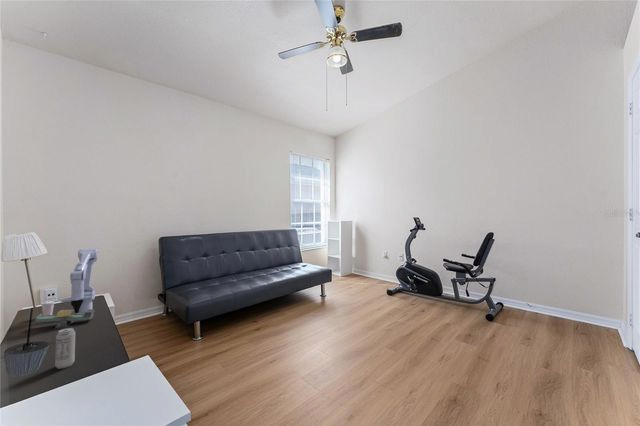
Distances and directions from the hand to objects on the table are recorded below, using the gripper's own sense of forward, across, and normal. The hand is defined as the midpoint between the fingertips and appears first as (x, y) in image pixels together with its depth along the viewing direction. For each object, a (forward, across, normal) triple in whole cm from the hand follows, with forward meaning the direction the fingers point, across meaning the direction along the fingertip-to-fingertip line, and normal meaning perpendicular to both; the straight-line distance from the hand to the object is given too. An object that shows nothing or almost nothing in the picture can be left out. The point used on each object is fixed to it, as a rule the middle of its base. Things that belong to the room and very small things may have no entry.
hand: (77, 312), depth 165 cm
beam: (+2, -5, 0) cm, 6 cm away
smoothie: (+6, -20, +23) cm, 31 cm away
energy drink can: (+6, +12, -64) cm, 65 cm away
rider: (+2, -6, 0) cm, 6 cm away
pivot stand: (+6, -5, 0) cm, 8 cm away
